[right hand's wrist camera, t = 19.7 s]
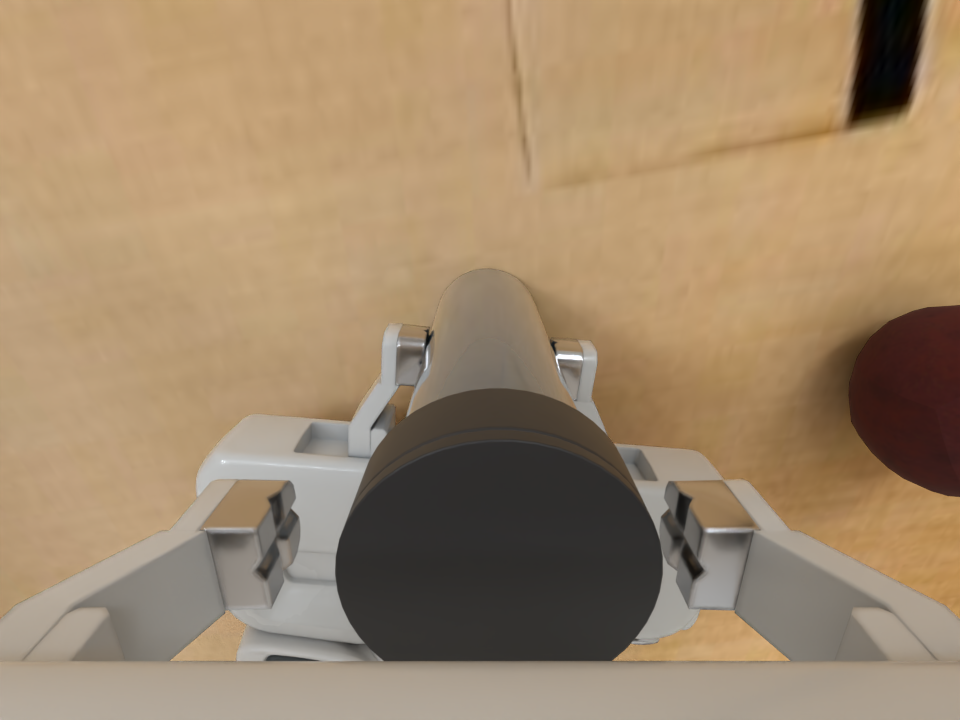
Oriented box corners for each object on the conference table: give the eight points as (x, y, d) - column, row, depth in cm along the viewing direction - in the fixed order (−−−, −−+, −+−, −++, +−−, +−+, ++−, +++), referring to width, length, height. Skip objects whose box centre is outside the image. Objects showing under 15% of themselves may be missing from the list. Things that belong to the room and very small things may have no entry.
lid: (687, 499, 10) (732, 572, 8) (504, 649, 12) (509, 738, 10) (483, 327, 9) (485, 369, 7) (306, 519, 10) (269, 595, 9)
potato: (850, 463, 26) (977, 566, 19) (782, 348, 24) (900, 420, 17) (998, 382, 24) (1192, 463, 18) (940, 250, 22) (1137, 287, 15)
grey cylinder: (417, 323, 23) (320, 566, 9) (480, 247, 22) (481, 390, 8) (492, 382, 24) (509, 680, 10) (557, 311, 23) (677, 540, 9)
